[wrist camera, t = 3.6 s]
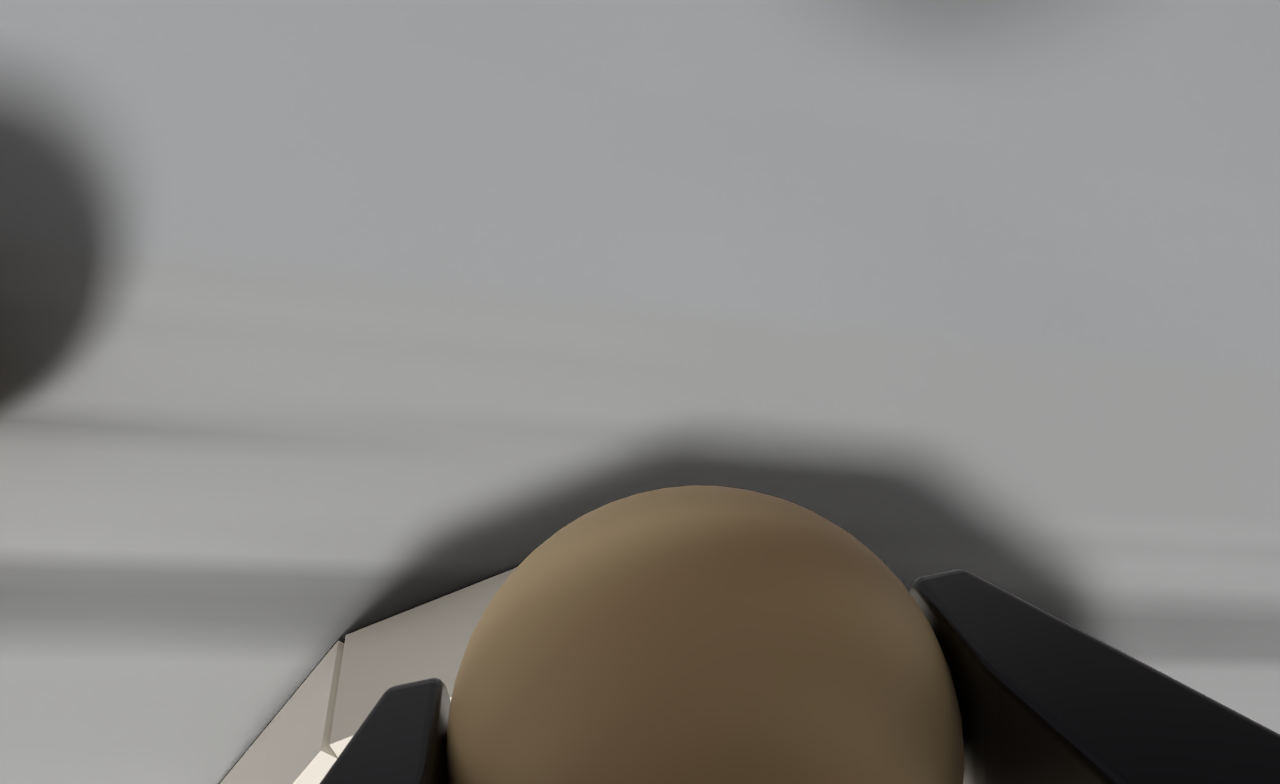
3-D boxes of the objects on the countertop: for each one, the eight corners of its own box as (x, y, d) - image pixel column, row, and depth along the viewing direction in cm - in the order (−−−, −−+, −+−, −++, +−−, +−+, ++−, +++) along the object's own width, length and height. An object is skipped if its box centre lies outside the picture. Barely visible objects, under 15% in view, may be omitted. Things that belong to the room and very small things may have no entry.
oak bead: (917, 422, 10) (1143, 715, 7) (820, 767, 11) (965, 1146, 8) (472, 381, 9) (478, 684, 6) (429, 753, 11) (414, 1161, 7)
